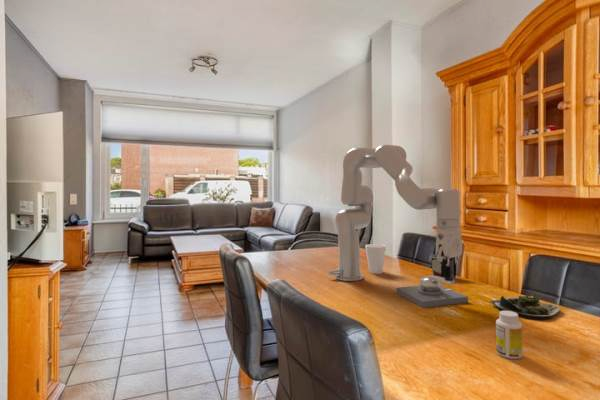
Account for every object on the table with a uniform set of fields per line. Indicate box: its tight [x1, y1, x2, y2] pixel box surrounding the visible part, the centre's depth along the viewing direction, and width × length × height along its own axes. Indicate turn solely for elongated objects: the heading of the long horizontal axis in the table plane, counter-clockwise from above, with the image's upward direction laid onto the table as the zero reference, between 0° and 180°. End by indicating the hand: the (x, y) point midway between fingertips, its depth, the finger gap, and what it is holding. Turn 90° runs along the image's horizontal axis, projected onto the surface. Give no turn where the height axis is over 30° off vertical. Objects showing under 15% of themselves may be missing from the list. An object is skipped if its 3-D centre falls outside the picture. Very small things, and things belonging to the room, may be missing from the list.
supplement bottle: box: [495, 310, 523, 360], centre depth 87 cm, size 6×6×10 cm
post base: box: [395, 284, 469, 308], centre depth 133 cm, size 18×18×3 cm
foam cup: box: [365, 243, 387, 275], centre depth 173 cm, size 10×9×13 cm
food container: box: [429, 254, 460, 280], centre depth 161 cm, size 12×6×10 cm, turn 84°
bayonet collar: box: [419, 255, 456, 292], centre depth 130 cm, size 13×9×14 cm
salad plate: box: [489, 295, 561, 321], centre depth 119 cm, size 19×18×5 cm
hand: (448, 275), depth 126 cm, fingers closed on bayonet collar, 3 cm apart
